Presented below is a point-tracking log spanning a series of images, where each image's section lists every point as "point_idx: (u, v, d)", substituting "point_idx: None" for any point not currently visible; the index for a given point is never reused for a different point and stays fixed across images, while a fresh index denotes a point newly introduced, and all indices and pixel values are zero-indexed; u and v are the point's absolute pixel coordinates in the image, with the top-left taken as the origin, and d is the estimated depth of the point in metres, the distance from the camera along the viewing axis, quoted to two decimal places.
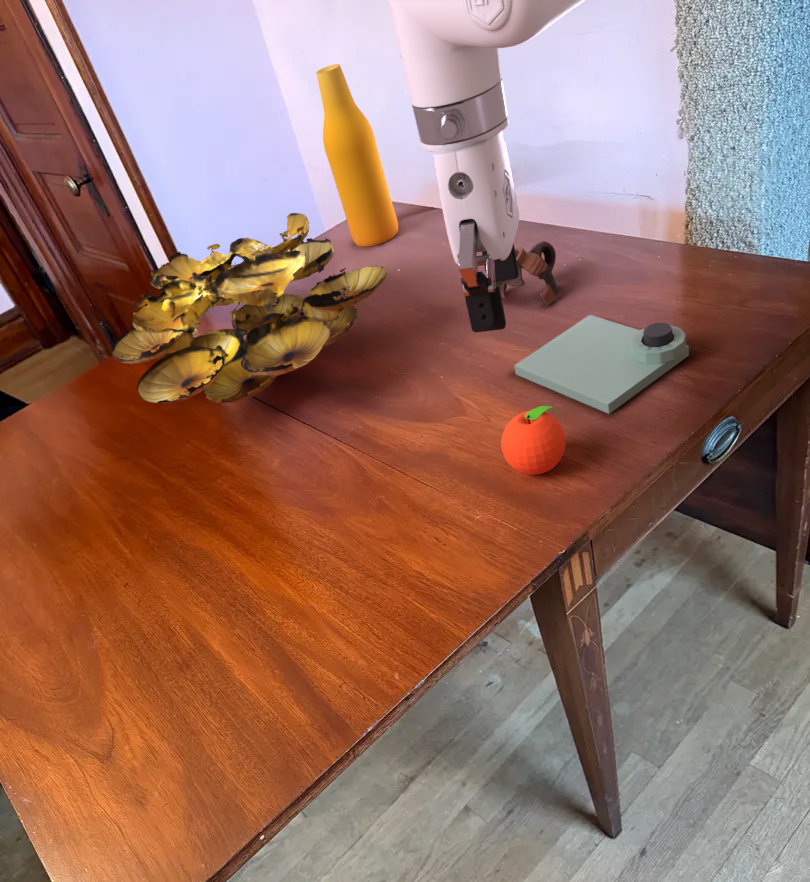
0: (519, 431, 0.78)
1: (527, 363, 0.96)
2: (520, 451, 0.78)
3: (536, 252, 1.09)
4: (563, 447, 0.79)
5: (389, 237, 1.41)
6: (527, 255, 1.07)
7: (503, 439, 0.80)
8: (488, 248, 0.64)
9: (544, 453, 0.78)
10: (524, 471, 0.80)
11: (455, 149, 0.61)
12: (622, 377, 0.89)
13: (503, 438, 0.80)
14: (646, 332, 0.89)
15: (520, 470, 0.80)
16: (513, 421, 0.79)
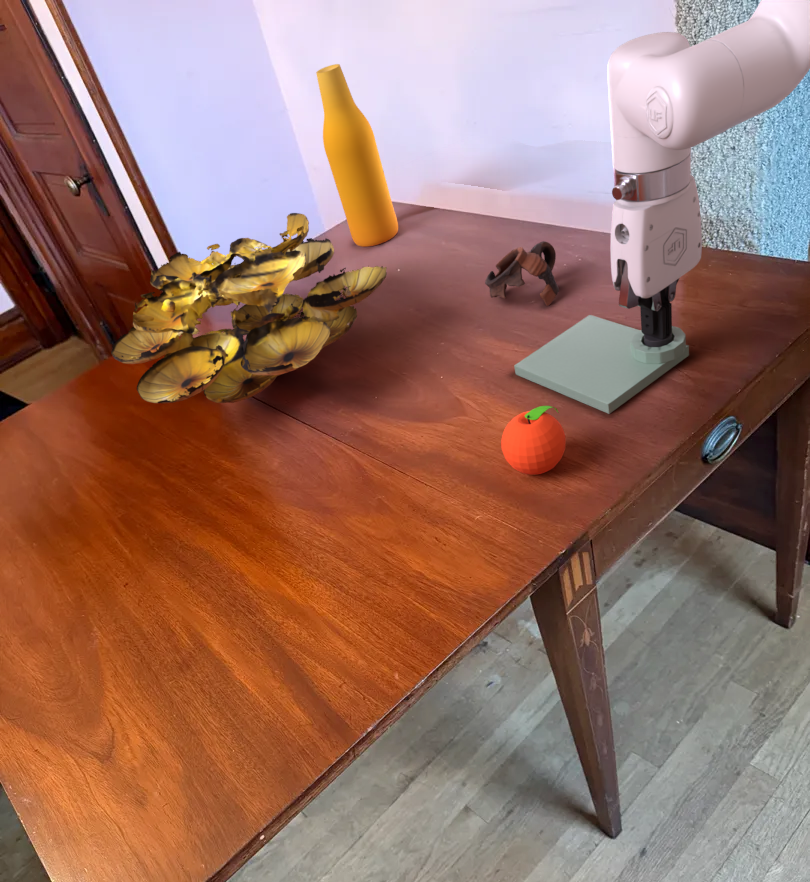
0: (519, 431, 0.78)
1: (527, 363, 0.96)
2: (520, 451, 0.78)
3: (536, 252, 1.09)
4: (563, 447, 0.79)
5: (389, 237, 1.41)
6: (527, 255, 1.07)
7: (503, 439, 0.80)
8: None
9: (544, 453, 0.78)
10: (524, 471, 0.80)
11: (627, 205, 0.77)
12: (622, 377, 0.89)
13: (503, 438, 0.80)
14: (646, 337, 0.90)
15: (520, 470, 0.80)
16: (513, 421, 0.79)
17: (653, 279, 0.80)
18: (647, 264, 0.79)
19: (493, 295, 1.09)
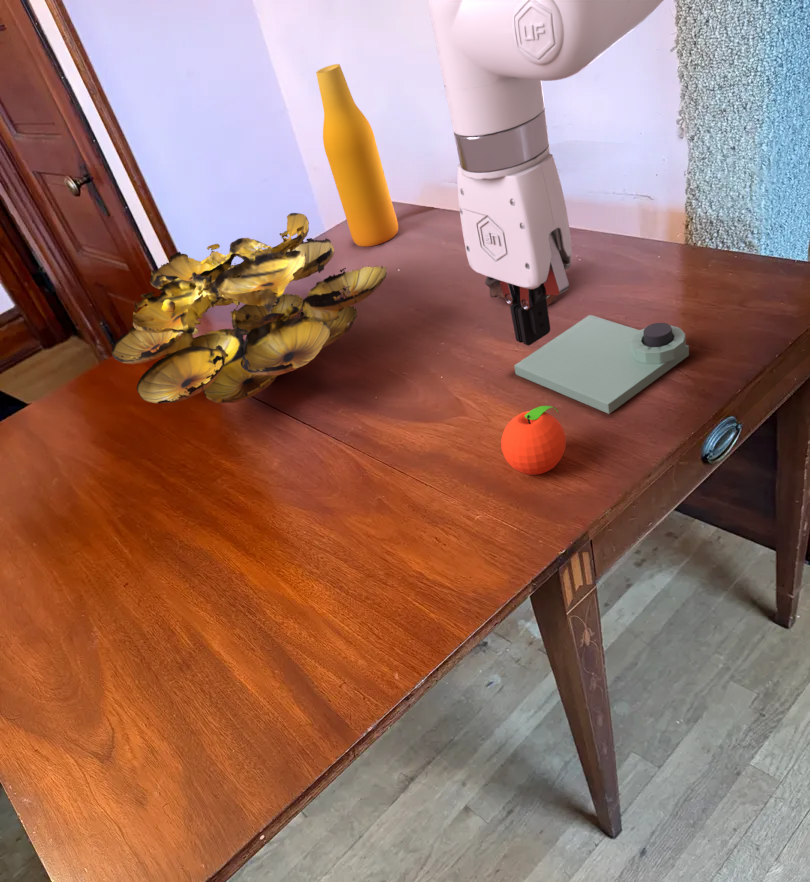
0: (519, 431, 0.78)
1: (527, 363, 0.96)
2: (520, 451, 0.78)
3: None
4: (563, 447, 0.79)
5: (389, 237, 1.41)
6: None
7: (503, 439, 0.80)
8: None
9: (544, 453, 0.78)
10: (524, 471, 0.80)
11: None
12: (622, 377, 0.89)
13: (503, 438, 0.80)
14: (646, 332, 0.89)
15: (520, 470, 0.80)
16: (513, 421, 0.79)
17: (473, 254, 0.70)
18: (465, 231, 0.69)
19: (493, 295, 1.09)
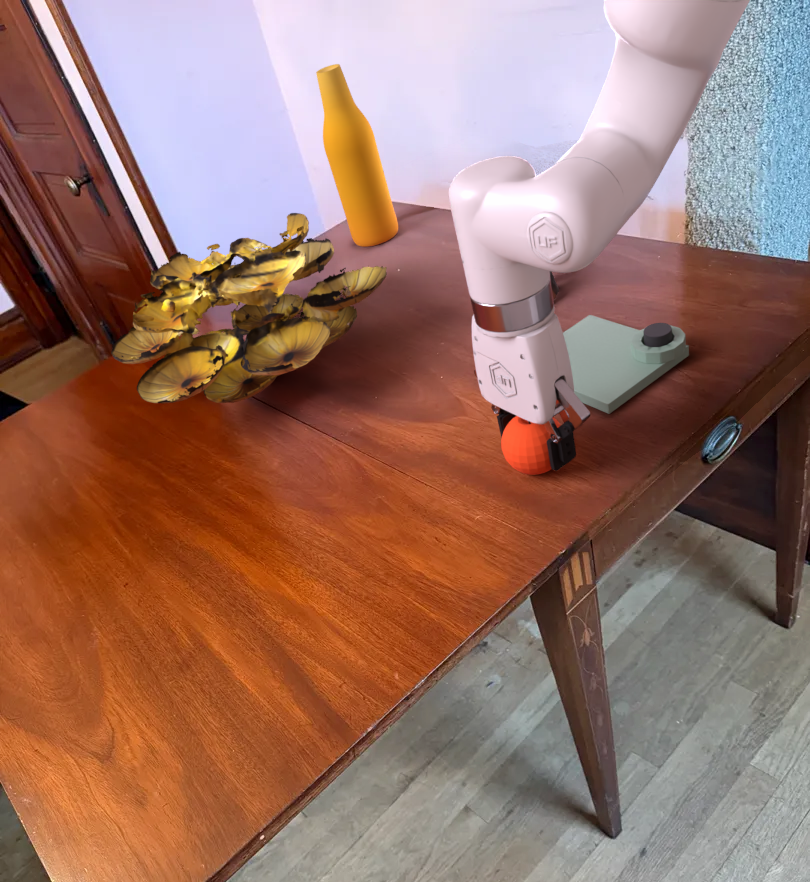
0: (519, 431, 0.78)
1: None
2: (520, 451, 0.78)
3: None
4: None
5: (389, 237, 1.41)
6: None
7: (503, 439, 0.80)
8: None
9: (544, 453, 0.78)
10: (524, 471, 0.80)
11: None
12: (622, 377, 0.89)
13: (503, 438, 0.80)
14: (646, 332, 0.89)
15: (520, 470, 0.80)
16: (513, 421, 0.79)
17: (485, 387, 0.78)
18: (478, 368, 0.77)
19: None
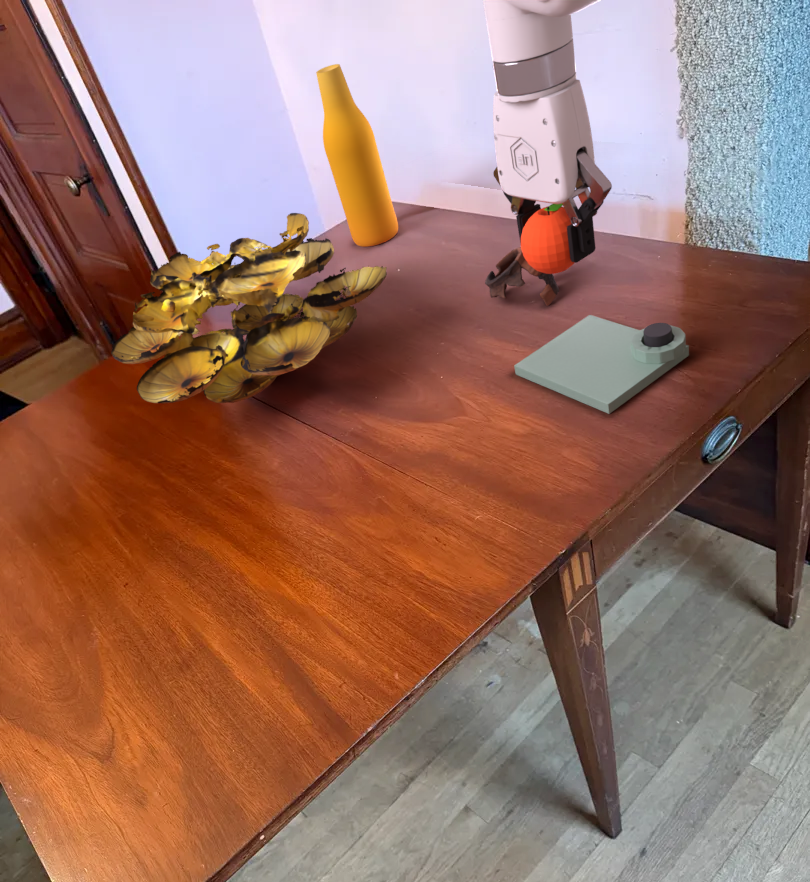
0: (539, 222, 0.79)
1: (527, 363, 0.96)
2: (540, 241, 0.79)
3: None
4: None
5: (389, 237, 1.41)
6: None
7: (523, 235, 0.81)
8: None
9: (564, 243, 0.79)
10: (543, 267, 0.81)
11: None
12: (622, 377, 0.89)
13: (523, 234, 0.81)
14: (646, 332, 0.89)
15: (539, 266, 0.81)
16: (533, 215, 0.80)
17: (505, 177, 0.79)
18: (498, 156, 0.78)
19: (493, 295, 1.09)
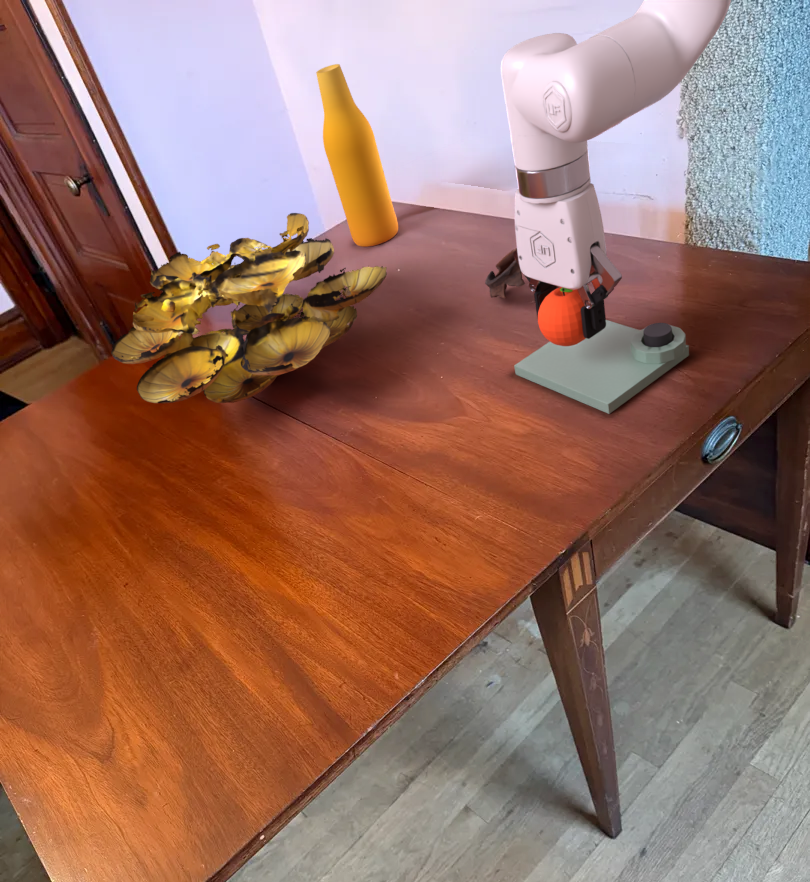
0: (555, 302, 0.87)
1: (527, 363, 0.96)
2: (556, 320, 0.87)
3: None
4: None
5: (389, 237, 1.41)
6: None
7: (540, 312, 0.89)
8: None
9: (578, 322, 0.87)
10: (559, 341, 0.89)
11: None
12: (622, 377, 0.89)
13: (540, 311, 0.89)
14: (646, 332, 0.89)
15: (555, 340, 0.89)
16: (549, 295, 0.88)
17: (525, 262, 0.87)
18: (518, 243, 0.86)
19: (493, 295, 1.09)
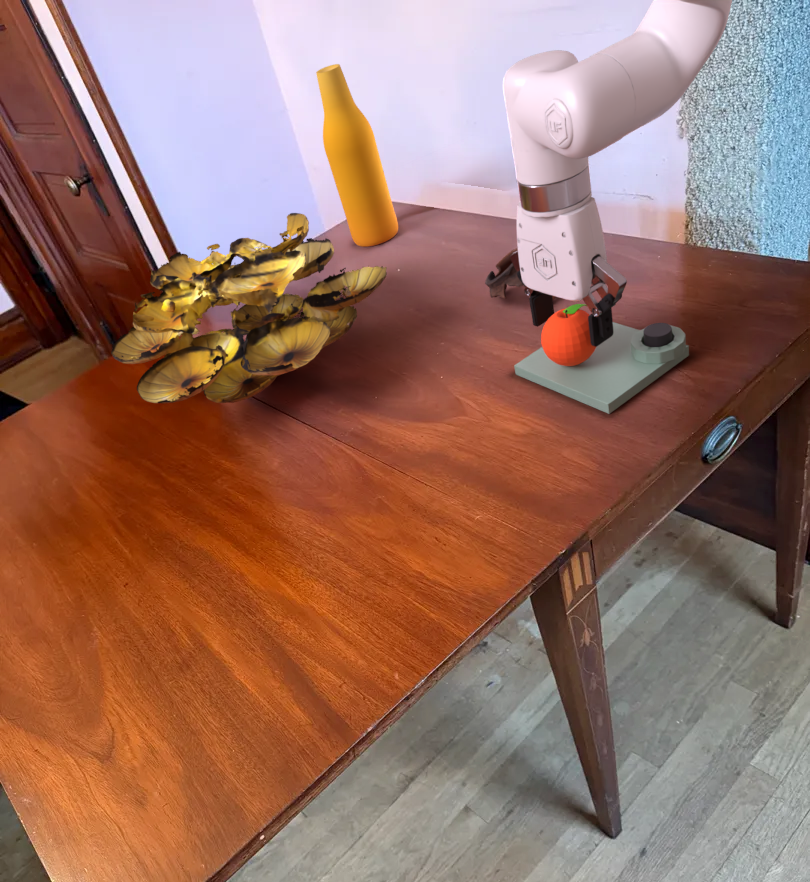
0: (558, 324, 0.89)
1: (527, 363, 0.96)
2: (559, 341, 0.89)
3: None
4: None
5: (389, 237, 1.41)
6: None
7: (543, 333, 0.91)
8: None
9: (580, 343, 0.89)
10: (562, 361, 0.91)
11: None
12: (622, 377, 0.89)
13: (543, 332, 0.91)
14: (646, 332, 0.89)
15: (558, 361, 0.91)
16: (552, 316, 0.90)
17: (527, 273, 0.88)
18: (520, 255, 0.87)
19: (493, 295, 1.09)
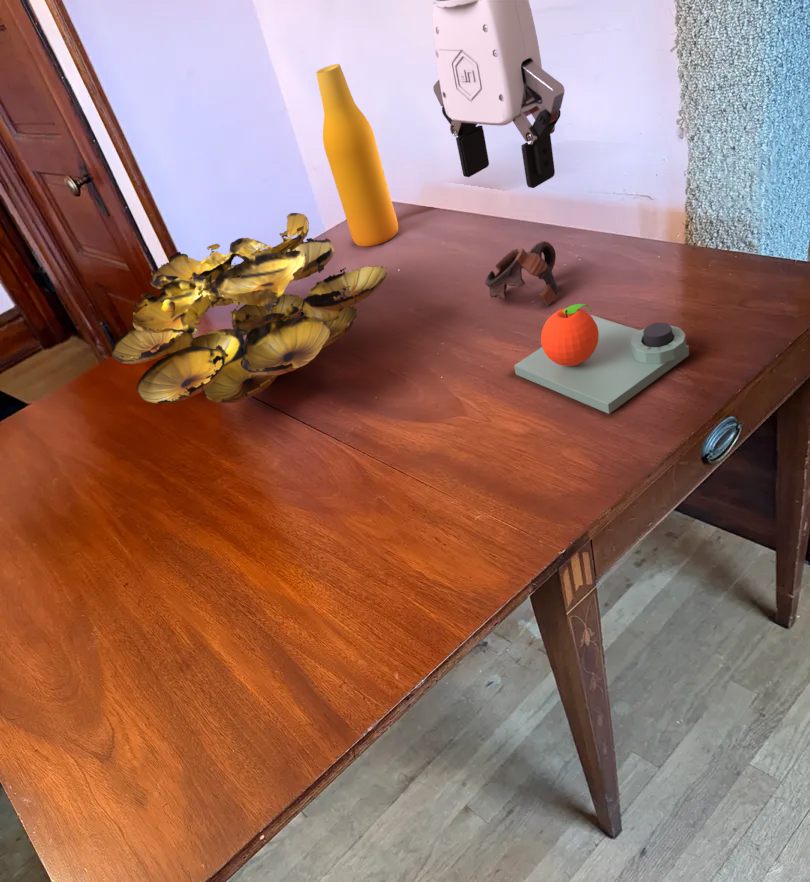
0: (558, 324, 0.89)
1: (527, 363, 0.96)
2: (559, 341, 0.89)
3: (536, 252, 1.09)
4: (596, 339, 0.90)
5: (389, 237, 1.41)
6: (527, 255, 1.07)
7: (543, 333, 0.91)
8: None
9: (580, 343, 0.89)
10: (562, 361, 0.91)
11: None
12: (622, 377, 0.89)
13: (543, 332, 0.91)
14: (646, 332, 0.89)
15: (558, 361, 0.91)
16: (552, 316, 0.90)
17: (449, 99, 0.72)
18: (441, 75, 0.71)
19: (493, 295, 1.09)
